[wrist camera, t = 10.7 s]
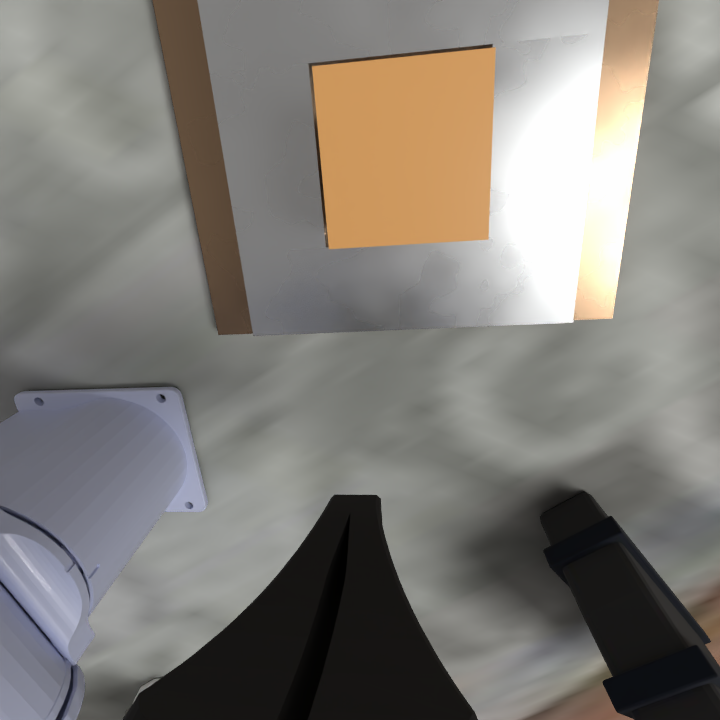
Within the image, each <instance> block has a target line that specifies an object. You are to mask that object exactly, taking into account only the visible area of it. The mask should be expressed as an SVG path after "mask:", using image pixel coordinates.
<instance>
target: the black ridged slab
mask: <svg viewBox="0 0 720 720" xmlns="http://www.w3.org/2000/svg"><path fill="white" fill-rule="evenodd" d="M540 520H541V524H542V526H543V528H544V530H545V533H546V535H547V537H548V539H549V542H550V544H551V546H550V547H548V548H546V549H544V550H543V551H544V554H545V556H546V559H547V561H548V563H549V566H550V568H551V569H552V570H553V571H554V572H555V573H556V574H557V575H558V576H559V577H560V578H561V579H562V580H563V581H564V582H565V583H566V584H567V585H568V586H569V587H570V588H571V591H572V593H573V595H574V597H575V599H576V602H577V604H578V606H579V608H580V610H581V612H582V615H583V617H584V619H585V621H586V623H587V625H588V627H589V629H590V631H591V633H592V635H593V637H594V639H595V641H596V643H597V646H598V648H599V650H600V652H601V654H602V656H603V658H604V660H605V662H606V664H607V666H608V668H609V670H610V672H611V674H612V676H613V677H611V678H609V679H606V680H604V681H603V685H604V687H605V689H606V691H607V693H608V695H609V697H610V699H611V702H612V704H613V706H614V708H615V710H616V711H617V713H620V714H623V715H625V716H628V717H630V718H633V719H634V720H720V666H719V665H718V663H717V662H716V660H715V659H714V657H713V656H712V655H711V653H710V652H709V650H708V649H707V647H706V646H705V644H707V643H710V642H711V641H710V639H709V638H708V636H707V635H706V633H705V632H704V631H703V629H702V628H701V627H700V626H699V624H698V623H697V622H696V621H695V619H694V618H693V617H692V616H691V614H690V613H689V612H688V611H687V609H686V608H685V607H684V606H683V604H682V603H681V602H680V601H679V599H678V598H677V597H676V596H675V594H674V593H673V592H672V591H671V589H670V588H669V587H668V586H667V584H666V583H665V582H664V581H663V579H662V578H661V577H660V576H659V574H658V573H657V572H656V571H655V569H654V568H653V567H652V566H651V564H650V563H649V562H648V561H647V559H646V558H645V557H644V556H643V554H642V553H641V552H640V551H639V549H638V548H637V547H636V546H635V544H634V543H633V542H632V541H631V539H630V538H629V537H628V536H627V534H626V533H625V532H624V531H623V529H622V528H621V527H620V526H619V524H618V523H617V522H616V521H615V519H614V518H613V517H612V516H609V517H608V516H607V514H606V513H605V512H604V511H603V509H602V508H601V507H600V506H599V504H598V503H597V502H596V501H595V499H594V498H593V497H592V496H591V495H590V494H588V493H586V492H584V493H580V494H579V495H577V496H575V497H573V498H571V499H569V500H567V501H566V502H564V503H562V504H560V505H558V506H556V507H554V508H552V509H551V510H549V511H547V512H545V513H543V514H542V515H541V516H540Z"/></svg>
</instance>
